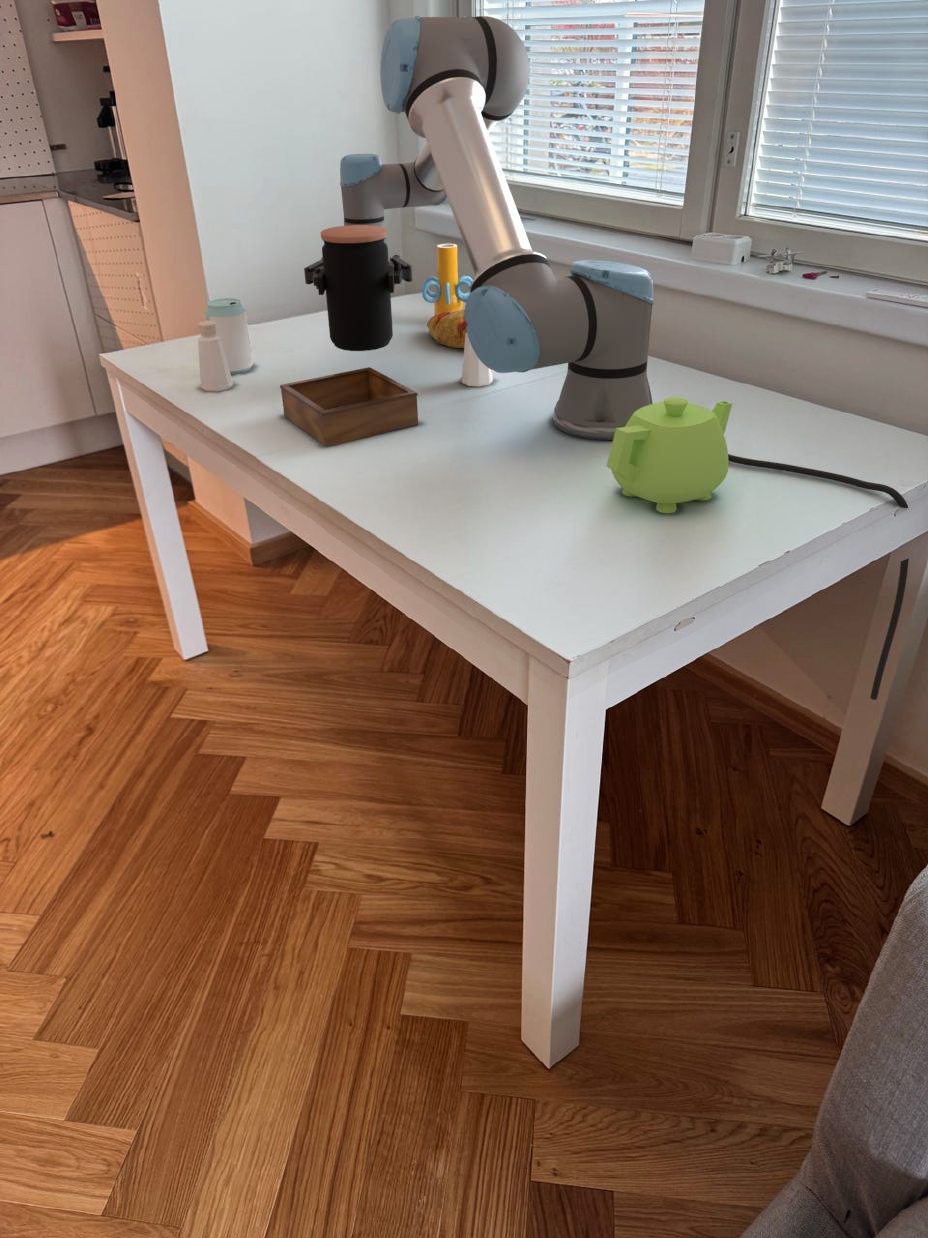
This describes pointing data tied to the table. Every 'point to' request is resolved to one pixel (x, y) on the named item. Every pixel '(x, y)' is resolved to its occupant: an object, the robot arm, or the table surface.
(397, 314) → the table surface
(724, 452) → the teapot
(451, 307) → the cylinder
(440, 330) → the croissant
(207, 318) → the can
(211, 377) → the salt shaker
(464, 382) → the pepper shaker
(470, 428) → the table surface
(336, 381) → the wooden tray
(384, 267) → the coffee jar
